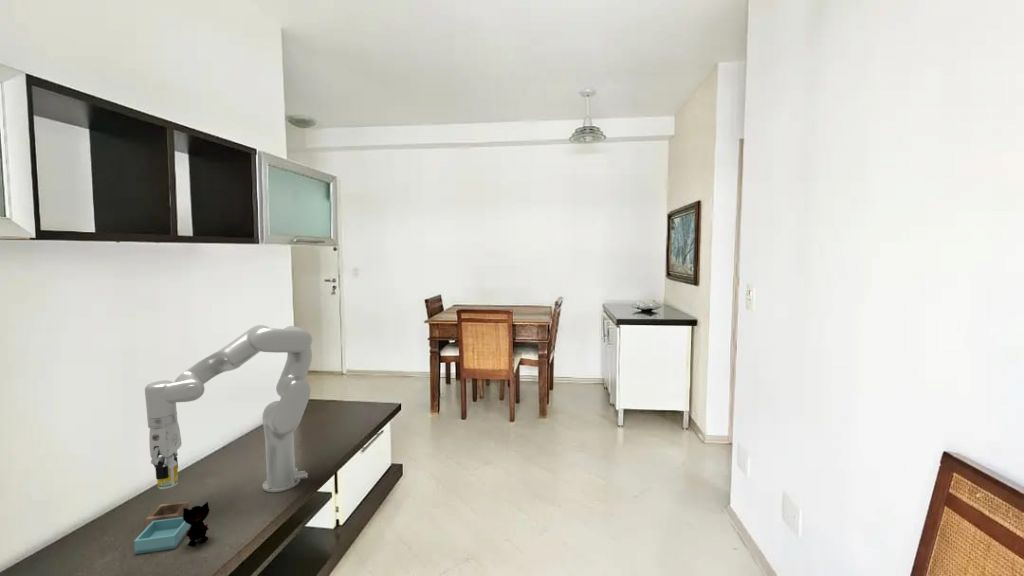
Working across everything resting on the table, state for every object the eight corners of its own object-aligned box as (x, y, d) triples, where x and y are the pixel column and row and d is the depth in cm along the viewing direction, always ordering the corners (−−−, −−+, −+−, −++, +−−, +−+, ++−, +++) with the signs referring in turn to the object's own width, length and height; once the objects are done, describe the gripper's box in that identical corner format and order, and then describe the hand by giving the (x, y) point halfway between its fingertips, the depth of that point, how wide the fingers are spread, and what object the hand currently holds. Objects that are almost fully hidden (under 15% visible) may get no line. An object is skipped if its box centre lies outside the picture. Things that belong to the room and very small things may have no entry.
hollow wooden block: (189, 510, 152) (189, 501, 152) (177, 525, 144) (176, 515, 143) (160, 514, 150) (159, 504, 150) (146, 529, 142) (145, 519, 141)
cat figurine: (211, 532, 140) (209, 495, 139) (213, 544, 134) (210, 505, 134) (183, 541, 136) (180, 503, 135) (183, 553, 130) (181, 514, 129)
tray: (191, 528, 142) (190, 516, 142) (175, 548, 132) (174, 535, 132) (153, 533, 140) (152, 521, 140) (134, 554, 130) (133, 541, 130)
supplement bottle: (164, 491, 143) (161, 462, 142) (154, 487, 145) (151, 458, 144) (182, 482, 148) (180, 454, 147) (172, 479, 150) (170, 451, 149)
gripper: (162, 428, 137) (167, 485, 139) (188, 409, 154) (192, 460, 155) (133, 431, 135) (139, 489, 137) (163, 411, 152) (167, 463, 153)
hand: (167, 473), depth 146 cm, fingers closed on supplement bottle, 5 cm apart
